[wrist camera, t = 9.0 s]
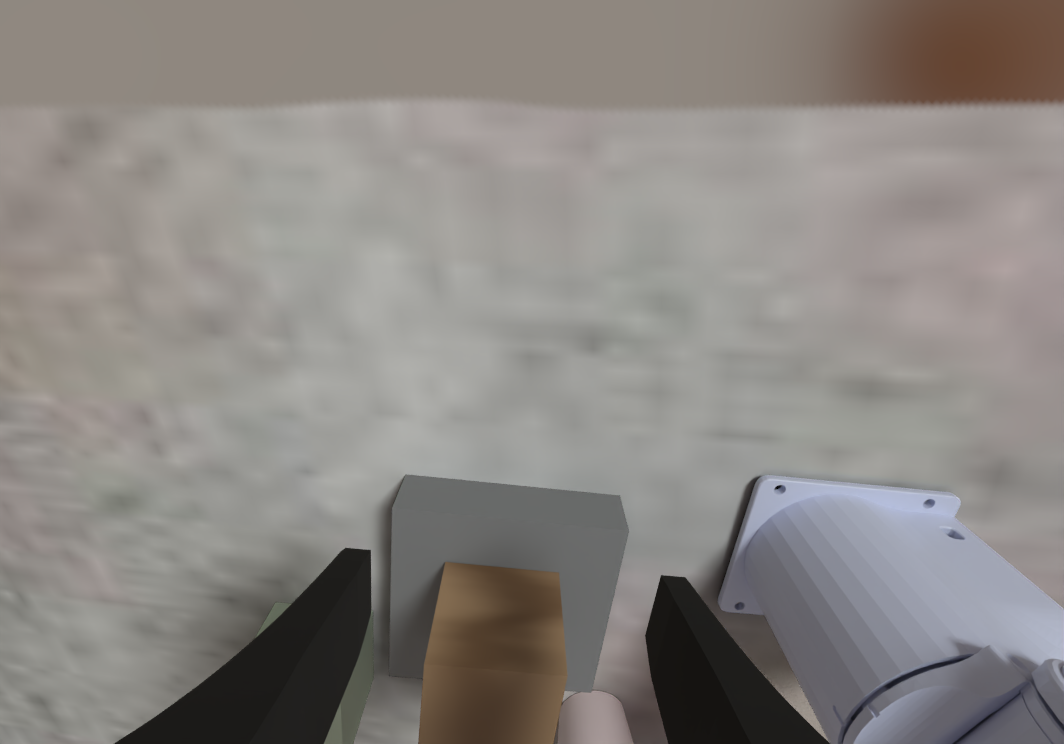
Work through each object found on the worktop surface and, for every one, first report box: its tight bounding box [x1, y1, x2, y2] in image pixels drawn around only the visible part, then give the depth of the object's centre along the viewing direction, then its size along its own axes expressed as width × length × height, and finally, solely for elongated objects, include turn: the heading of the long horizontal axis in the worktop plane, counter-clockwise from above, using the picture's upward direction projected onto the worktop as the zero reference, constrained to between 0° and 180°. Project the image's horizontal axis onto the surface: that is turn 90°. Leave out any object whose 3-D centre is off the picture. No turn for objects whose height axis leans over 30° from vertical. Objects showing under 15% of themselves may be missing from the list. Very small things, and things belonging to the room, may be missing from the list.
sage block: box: [255, 602, 374, 744], centre depth 25 cm, size 5×5×5 cm
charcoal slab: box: [389, 475, 629, 693], centre depth 25 cm, size 10×10×3 cm
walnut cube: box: [418, 562, 568, 744], centre depth 21 cm, size 5×5×5 cm
